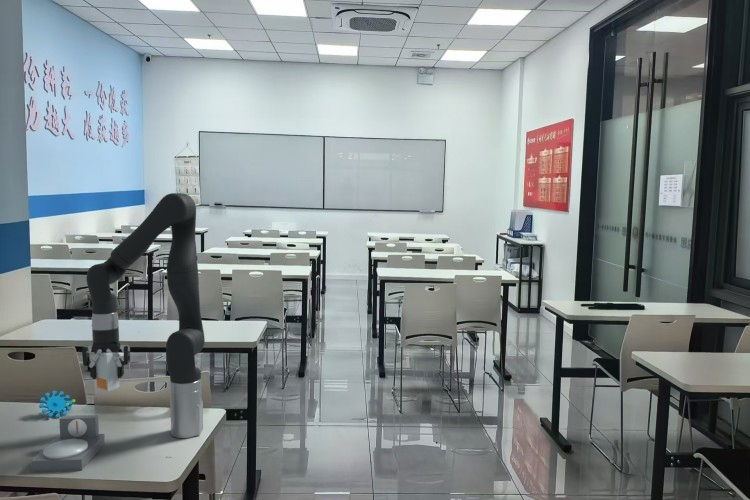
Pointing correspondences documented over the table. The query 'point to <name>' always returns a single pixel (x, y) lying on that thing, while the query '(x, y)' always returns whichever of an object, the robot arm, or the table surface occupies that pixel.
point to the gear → (56, 404)
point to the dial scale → (71, 445)
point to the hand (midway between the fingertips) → (107, 377)
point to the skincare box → (107, 372)
